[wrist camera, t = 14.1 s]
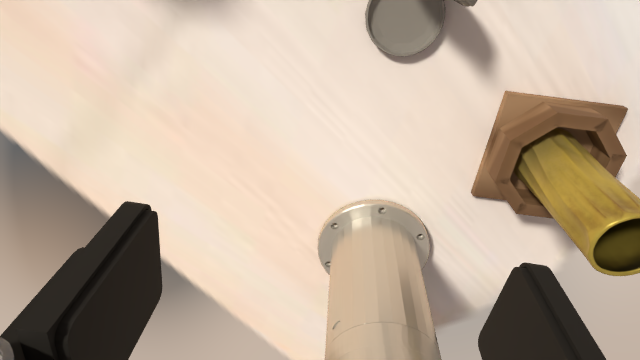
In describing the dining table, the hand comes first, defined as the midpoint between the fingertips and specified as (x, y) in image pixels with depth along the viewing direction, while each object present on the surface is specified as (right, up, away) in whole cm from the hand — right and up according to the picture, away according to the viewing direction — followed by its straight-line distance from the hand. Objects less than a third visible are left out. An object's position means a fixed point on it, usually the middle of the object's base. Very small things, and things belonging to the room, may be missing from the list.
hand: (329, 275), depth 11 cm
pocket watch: (+8, +18, +24) cm, 31 cm away
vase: (+22, +5, +30) cm, 37 cm away
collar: (+22, +5, +30) cm, 37 cm away
